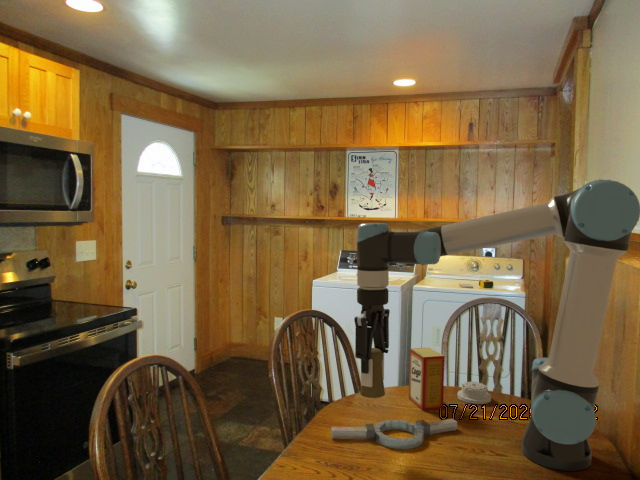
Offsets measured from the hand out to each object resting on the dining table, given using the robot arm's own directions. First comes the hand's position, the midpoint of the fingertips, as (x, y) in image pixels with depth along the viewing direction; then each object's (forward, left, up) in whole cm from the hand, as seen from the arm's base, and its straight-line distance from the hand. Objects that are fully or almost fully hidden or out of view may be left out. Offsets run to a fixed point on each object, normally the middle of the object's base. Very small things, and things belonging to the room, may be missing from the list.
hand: (372, 382), depth 124 cm
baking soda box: (-19, -28, -16) cm, 38 cm away
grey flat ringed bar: (-7, -5, -16) cm, 18 cm away
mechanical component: (-36, -32, -16) cm, 51 cm away
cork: (0, 0, -3) cm, 3 cm away
